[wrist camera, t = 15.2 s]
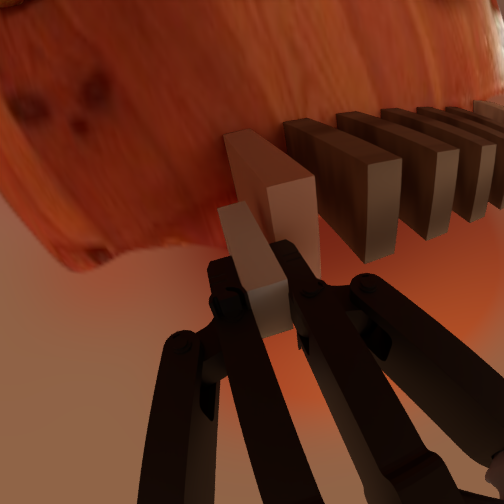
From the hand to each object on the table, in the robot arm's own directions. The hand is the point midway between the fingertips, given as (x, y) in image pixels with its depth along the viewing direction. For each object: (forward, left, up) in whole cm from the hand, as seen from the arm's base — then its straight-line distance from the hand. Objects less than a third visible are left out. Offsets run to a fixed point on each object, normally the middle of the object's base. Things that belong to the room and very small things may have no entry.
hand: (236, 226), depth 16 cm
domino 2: (0, +7, -9) cm, 12 cm away
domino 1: (0, +2, -9) cm, 10 cm away
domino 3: (0, +12, -9) cm, 16 cm away
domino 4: (0, +17, -9) cm, 20 cm away
